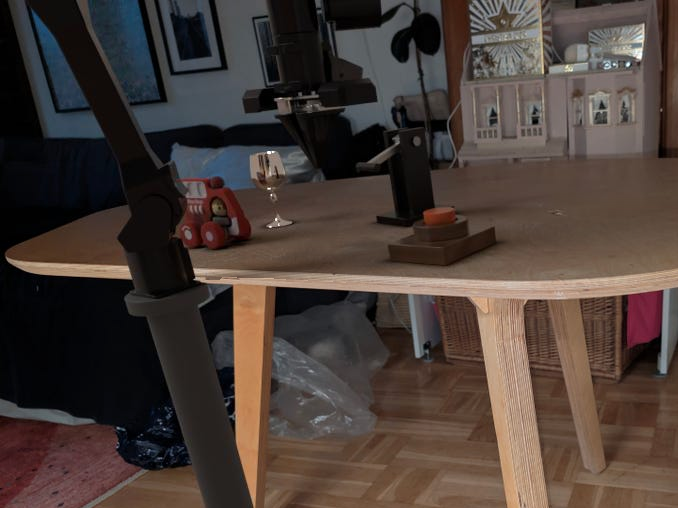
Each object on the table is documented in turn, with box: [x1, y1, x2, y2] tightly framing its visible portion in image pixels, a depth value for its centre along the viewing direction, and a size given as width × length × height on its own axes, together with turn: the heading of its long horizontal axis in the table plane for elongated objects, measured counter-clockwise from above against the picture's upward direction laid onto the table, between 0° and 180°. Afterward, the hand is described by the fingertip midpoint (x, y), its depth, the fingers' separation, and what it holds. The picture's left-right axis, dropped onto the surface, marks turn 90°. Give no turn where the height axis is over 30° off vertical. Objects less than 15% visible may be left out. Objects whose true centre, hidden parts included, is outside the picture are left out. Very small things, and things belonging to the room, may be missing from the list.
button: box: [423, 207, 456, 225], centre depth 89 cm, size 4×4×2 cm
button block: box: [387, 214, 497, 266], centre depth 90 cm, size 11×9×4 cm
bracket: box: [375, 126, 456, 228], centre depth 111 cm, size 10×8×14 cm
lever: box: [355, 134, 401, 172], centre depth 108 cm, size 10×5×2 cm, turn 133°
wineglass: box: [249, 150, 293, 228], centre depth 119 cm, size 6×6×12 cm
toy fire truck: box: [179, 175, 252, 250], centre depth 110 cm, size 7×12×10 cm, turn 60°
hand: (319, 168), depth 90 cm, fingers closed
